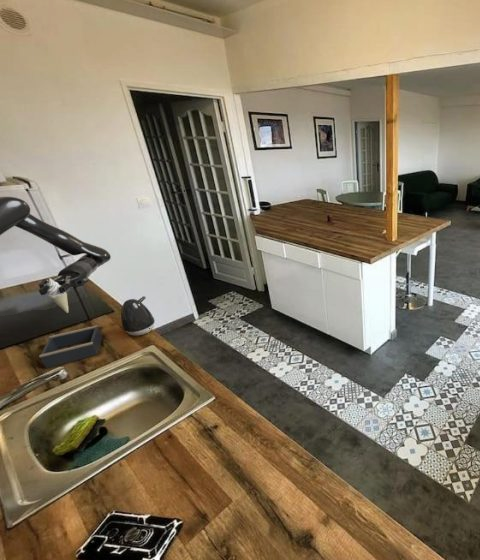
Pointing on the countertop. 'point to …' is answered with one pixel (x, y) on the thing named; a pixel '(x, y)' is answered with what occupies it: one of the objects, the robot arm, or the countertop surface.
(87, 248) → the robot arm
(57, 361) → the basket
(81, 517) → the countertop surface
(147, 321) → the pump dispenser
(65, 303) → the ice cream cone
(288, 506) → the countertop surface
